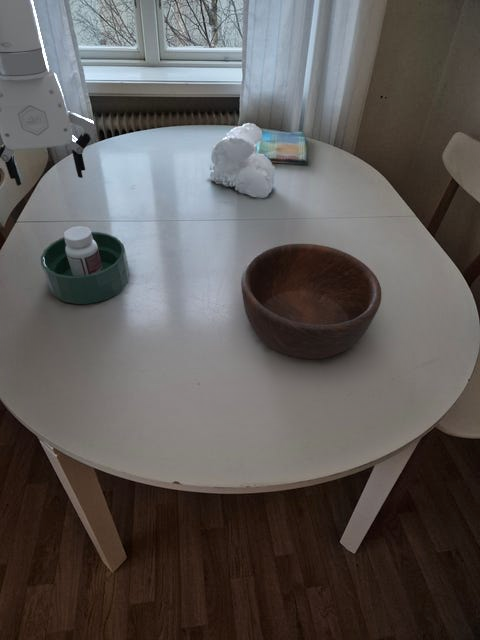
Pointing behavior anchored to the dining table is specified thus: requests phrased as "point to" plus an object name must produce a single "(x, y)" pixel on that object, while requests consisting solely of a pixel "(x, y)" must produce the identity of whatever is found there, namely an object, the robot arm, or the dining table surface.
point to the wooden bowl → (309, 299)
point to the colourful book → (284, 147)
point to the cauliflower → (242, 162)
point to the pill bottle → (82, 251)
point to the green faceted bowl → (87, 285)
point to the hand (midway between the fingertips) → (50, 178)
